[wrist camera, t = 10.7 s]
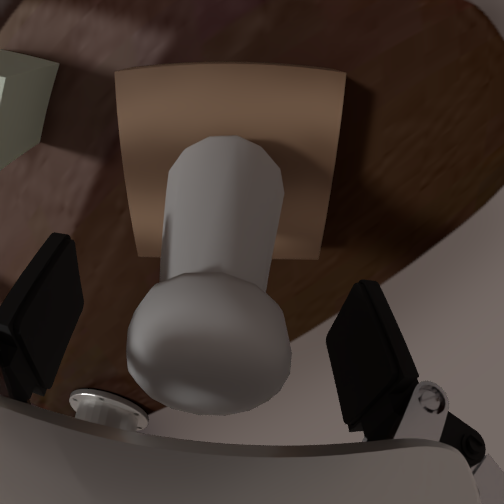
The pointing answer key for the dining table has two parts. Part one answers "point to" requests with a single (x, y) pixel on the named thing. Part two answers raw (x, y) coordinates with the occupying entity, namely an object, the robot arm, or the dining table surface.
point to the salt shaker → (214, 285)
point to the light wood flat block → (226, 124)
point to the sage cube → (23, 102)
